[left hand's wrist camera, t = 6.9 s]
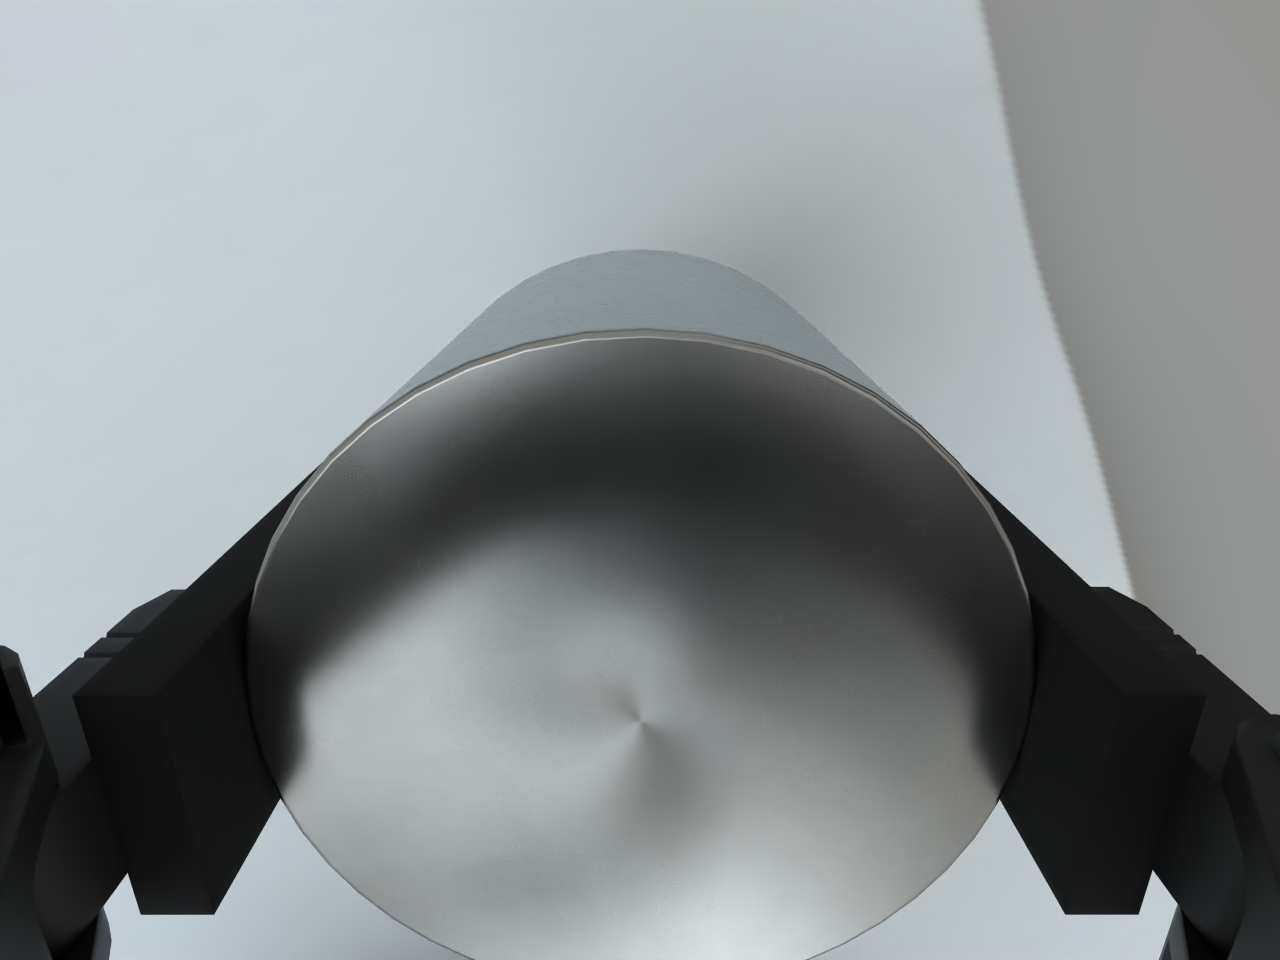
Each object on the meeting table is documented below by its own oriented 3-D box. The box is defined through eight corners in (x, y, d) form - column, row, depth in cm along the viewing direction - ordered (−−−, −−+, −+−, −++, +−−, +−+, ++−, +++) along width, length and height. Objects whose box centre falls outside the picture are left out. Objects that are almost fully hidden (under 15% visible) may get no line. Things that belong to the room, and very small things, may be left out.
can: (468, 188, 14) (290, 211, 7) (927, 323, 15) (1193, 467, 8) (389, 605, 17) (210, 919, 10) (773, 696, 18) (861, 1045, 11)
